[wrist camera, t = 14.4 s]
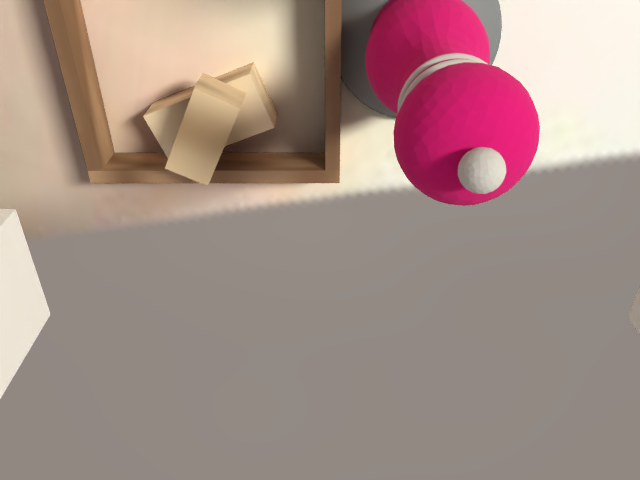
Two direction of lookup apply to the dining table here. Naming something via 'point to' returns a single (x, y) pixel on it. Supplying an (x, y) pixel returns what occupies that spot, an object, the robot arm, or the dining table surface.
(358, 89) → the coaster
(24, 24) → the dining table surface
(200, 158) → the offcut upper
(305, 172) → the frame
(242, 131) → the offcut lower
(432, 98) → the pepper mill
